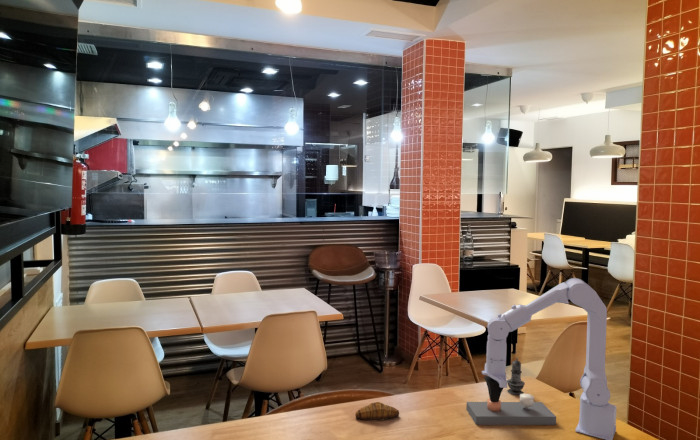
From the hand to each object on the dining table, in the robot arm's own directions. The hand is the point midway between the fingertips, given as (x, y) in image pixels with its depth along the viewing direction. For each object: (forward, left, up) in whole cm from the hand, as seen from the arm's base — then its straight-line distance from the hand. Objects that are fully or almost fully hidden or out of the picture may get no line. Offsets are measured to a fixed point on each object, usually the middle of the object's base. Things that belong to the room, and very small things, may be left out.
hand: (494, 401), depth 148 cm
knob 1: (0, 0, -4) cm, 4 cm away
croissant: (+28, +22, -5) cm, 36 cm away
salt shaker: (0, -23, -5) cm, 24 cm away
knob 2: (-8, -6, -2) cm, 10 cm away
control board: (-4, -3, -5) cm, 7 cm away
